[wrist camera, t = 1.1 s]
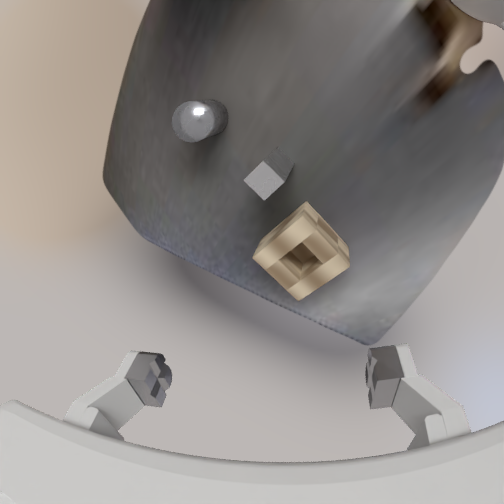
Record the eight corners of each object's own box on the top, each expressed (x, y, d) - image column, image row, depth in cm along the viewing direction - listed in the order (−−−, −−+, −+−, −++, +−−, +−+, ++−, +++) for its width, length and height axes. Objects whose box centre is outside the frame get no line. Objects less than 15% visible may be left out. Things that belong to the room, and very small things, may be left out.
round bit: (209, 92, 39) (188, 93, 33) (235, 116, 40) (219, 119, 34) (187, 119, 42) (164, 124, 36) (212, 142, 43) (193, 150, 37)
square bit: (277, 146, 41) (263, 160, 32) (294, 163, 42) (284, 181, 33) (261, 162, 43) (243, 180, 34) (278, 178, 43) (264, 200, 35)
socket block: (306, 200, 44) (302, 215, 39) (348, 246, 46) (349, 266, 41) (261, 239, 49) (252, 257, 44) (302, 279, 51) (298, 301, 46)
